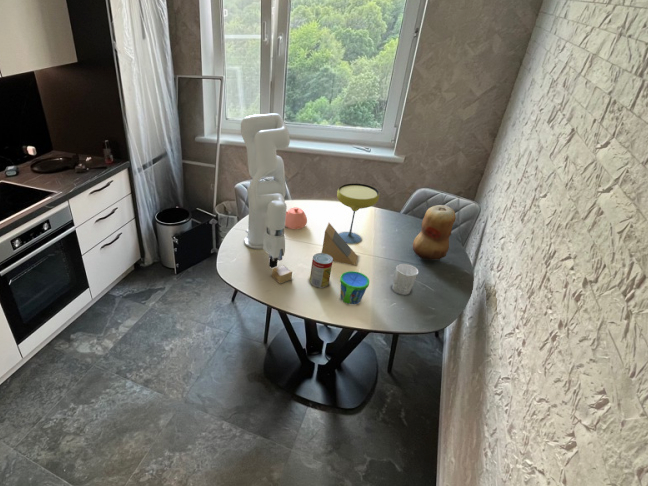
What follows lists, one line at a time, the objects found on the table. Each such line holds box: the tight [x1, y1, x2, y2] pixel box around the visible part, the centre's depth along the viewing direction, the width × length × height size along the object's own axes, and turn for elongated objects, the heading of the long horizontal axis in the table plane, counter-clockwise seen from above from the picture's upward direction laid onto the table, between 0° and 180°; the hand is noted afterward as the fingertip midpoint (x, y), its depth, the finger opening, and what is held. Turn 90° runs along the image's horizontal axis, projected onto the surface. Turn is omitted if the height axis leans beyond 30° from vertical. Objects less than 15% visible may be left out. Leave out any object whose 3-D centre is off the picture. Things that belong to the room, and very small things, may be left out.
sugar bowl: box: [285, 206, 308, 230], centre depth 206 cm, size 12×14×10 cm
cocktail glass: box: [336, 183, 380, 245], centre depth 189 cm, size 18×18×25 cm
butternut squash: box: [412, 204, 457, 261], centre depth 172 cm, size 14×13×25 cm
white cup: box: [391, 263, 419, 296], centre depth 159 cm, size 8×8×10 cm
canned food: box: [309, 252, 333, 288], centre depth 165 cm, size 8×8×12 cm
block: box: [271, 264, 293, 284], centre depth 171 cm, size 6×6×4 cm
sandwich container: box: [321, 222, 359, 266], centre depth 178 cm, size 9×15×15 cm, turn 65°
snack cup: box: [339, 270, 370, 305], centre depth 155 cm, size 16×10×10 cm
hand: (273, 266), depth 175 cm, fingers closed
